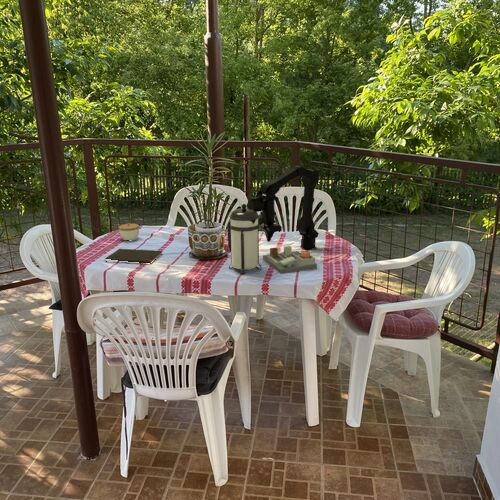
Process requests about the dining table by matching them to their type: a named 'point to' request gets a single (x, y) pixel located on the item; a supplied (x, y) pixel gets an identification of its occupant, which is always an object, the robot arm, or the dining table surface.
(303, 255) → the red button
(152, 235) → the dining table surface
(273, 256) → the walnut knob
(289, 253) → the offwhite knob
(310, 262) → the panel
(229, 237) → the coffee press
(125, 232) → the lidded jar
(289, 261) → the green rocker
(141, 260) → the hardcover book
